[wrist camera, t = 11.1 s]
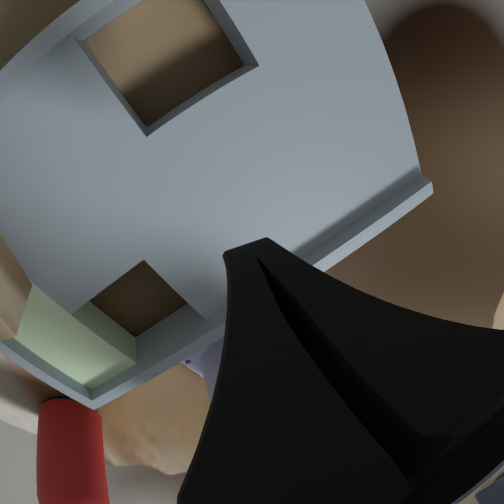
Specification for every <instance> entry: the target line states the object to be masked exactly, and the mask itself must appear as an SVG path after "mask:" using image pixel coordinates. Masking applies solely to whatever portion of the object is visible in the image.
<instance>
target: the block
mask: <svg viewBox="0 0 504 504" xmlns="http://www.w3.org/2000/svg"><path fill="white" fill-rule="evenodd" d="M31 288H32V283H31V282H30V280H29V279H28V277H27V276H26V274H25V272H24V271H23V269H22V268H21V266H20V264H19V263H18V261H17V259H16V258H15V256H14V254H13V252H12V251H11V249H10V247H9V246H8V244H7V242H6V240H5V238H4V237H3V235H2V233H1V231H0V341H3V340H6V339H9V338H12V337H15V336H16V335H17V332H18V328H19V325H20V321H21V318H22V315H23V312H24V308H25V305H26V302H27V299H28V296H29V293H30V290H31Z"/></svg>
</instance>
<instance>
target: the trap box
mask: <svg viewBox="0 0 504 504" xmlns="http://www.w3.org/2000/svg"><path fill="white" fill-rule="evenodd" d="M142 1H143V0H80V1H78V2H77V3H76V4H74V5H73V6H72V7H70V8H69V9H68V10H66V11H65V12H64V13H63V14H61V15H60V16H59V17H58V18H56V19H55V20H54V21H53V22H51V23H50V24H49V25H48V26H47V27H45V28H44V29H43V30H42V31H41V32H40V33H39V34H37V35H36V36H35V37H34V38H33V39H32V40H31V41H30V42H29V43H28V44H26V45H25V46H24V47H23V48H22V49H21V50H20V51H19V52H18V53H17V54H16V55H15V56H14V57H13V58H12V59H11V60H10V61H9V62H8V63H7V64H6V65H5V66H4V67H3V68H2V69H1V71H0V231H1V233H2V235H3V237H4V238H5V240H6V242H7V244H8V246H9V247H10V249H11V251H12V252H13V254H14V256H15V258H16V259H17V261H18V263H19V264H20V266H21V268H22V269H23V271H24V272H25V274H26V276H27V277H28V279H29V280H30V282H31V283H32V288H31V290H30V293H29V296H28V299H27V302H26V305H25V308H24V312H23V315H22V318H21V321H20V325H19V328H18V332H17V335H16V336H15V337H12V338H9V339H6V340H3V341H0V352H1V353H2V354H3V355H5V356H6V357H7V358H9V359H10V360H12V361H13V362H14V363H16V364H17V365H19V366H20V367H22V368H23V369H25V370H26V371H28V372H29V373H31V374H32V375H34V376H35V377H37V378H39V379H40V380H42V381H43V382H45V383H47V384H48V385H50V386H52V387H53V388H55V389H57V390H58V391H60V392H62V393H63V394H65V395H67V396H69V397H70V398H72V399H74V400H76V401H78V402H80V403H81V404H83V405H85V406H87V407H89V408H91V409H93V410H95V409H97V408H99V407H101V406H103V405H105V404H106V403H108V402H110V401H112V400H114V399H116V398H118V397H119V396H121V395H123V394H125V393H127V392H129V391H130V390H132V389H134V388H136V387H138V386H140V385H141V384H143V383H145V382H147V381H148V380H150V379H152V378H154V377H156V376H157V375H159V374H161V373H163V372H164V371H166V370H168V369H170V368H171V367H173V366H175V365H177V364H178V363H180V362H182V361H183V360H185V359H187V358H188V357H190V356H192V355H194V354H195V353H197V352H199V351H200V350H202V349H204V348H205V347H207V346H209V345H210V344H212V343H214V342H215V341H217V340H219V339H220V338H222V337H223V336H224V335H225V324H226V312H227V274H226V267H225V263H224V260H223V257H222V255H223V253H224V252H225V251H226V250H229V249H232V248H235V247H238V246H241V245H244V244H247V243H250V242H253V241H256V240H259V239H262V238H265V237H268V238H270V239H271V240H273V241H275V242H276V243H278V244H279V245H281V246H282V247H284V248H285V249H287V250H288V251H290V252H291V253H293V254H294V255H296V256H298V257H299V258H301V259H302V260H304V261H306V262H307V263H309V264H311V265H312V266H314V267H316V268H317V269H319V270H321V271H323V272H324V271H326V270H327V269H329V268H330V267H332V266H333V265H335V264H336V263H337V262H339V261H341V260H342V259H343V258H345V257H346V256H348V255H349V254H351V253H352V252H353V251H355V250H356V249H358V248H359V247H361V246H362V245H363V244H365V243H366V242H368V241H369V240H370V239H372V238H373V237H375V236H376V235H377V234H379V233H380V232H382V231H383V230H384V229H386V228H387V227H388V226H390V225H391V224H393V223H394V222H395V221H397V220H398V219H400V218H401V217H402V216H404V215H405V214H406V213H408V212H409V211H410V210H412V209H413V208H414V207H416V206H417V205H418V204H420V203H421V202H422V201H424V200H425V199H426V198H428V197H429V196H430V195H431V194H433V188H432V182H431V181H430V180H428V179H427V178H425V177H423V176H422V175H421V171H420V166H419V161H418V157H417V152H416V148H415V144H414V140H413V136H412V132H411V128H410V125H409V121H408V117H407V114H406V110H405V107H404V103H403V100H402V97H401V94H400V90H399V88H398V84H397V81H396V78H395V76H394V72H393V70H392V67H391V64H390V61H389V58H388V56H387V53H386V51H385V48H384V45H383V43H382V40H381V38H380V35H379V33H378V31H377V28H376V26H375V23H374V21H373V19H372V16H371V15H370V12H369V10H368V8H367V5H366V3H365V1H364V0H203V1H204V2H205V4H206V5H207V7H208V8H209V10H210V11H211V13H212V14H213V16H214V18H215V19H216V21H217V22H218V24H219V25H220V27H221V28H222V30H223V32H224V33H225V35H226V36H227V38H228V40H229V41H230V43H231V44H232V46H233V48H234V49H235V51H236V53H237V54H238V56H239V58H240V59H241V61H242V63H243V64H244V66H242V67H241V68H239V69H237V70H235V71H234V72H232V73H230V74H228V75H227V76H225V77H223V78H221V79H220V80H218V81H216V82H215V83H213V84H211V85H210V86H208V87H206V88H205V89H203V90H202V91H200V92H198V93H197V94H195V95H194V96H192V97H191V98H189V99H187V100H186V101H184V102H183V103H181V104H180V105H178V106H177V107H175V108H174V109H172V110H171V111H169V112H168V113H166V114H165V115H164V116H162V117H161V118H159V119H158V120H156V121H155V122H154V123H152V124H151V125H149V126H148V127H147V128H146V126H145V125H144V124H143V122H142V121H141V120H140V118H139V117H138V115H137V114H136V113H135V111H134V110H133V109H132V107H131V106H130V105H129V103H128V102H127V100H126V99H125V98H124V96H123V95H122V94H121V92H120V91H119V90H118V88H117V87H116V85H115V84H114V83H113V81H112V80H111V79H110V77H109V76H108V74H107V73H106V72H105V70H104V69H103V68H102V66H101V65H100V63H99V62H98V61H97V59H96V58H95V57H94V55H93V54H92V52H91V51H90V50H89V48H88V47H87V46H86V44H85V43H84V40H86V39H87V38H88V37H90V36H91V35H92V34H94V33H95V32H96V31H98V30H99V29H100V28H102V27H103V26H105V25H106V24H107V23H109V22H110V21H112V20H113V19H115V18H116V17H118V16H119V15H121V14H122V13H124V12H125V11H127V10H129V9H130V8H132V7H133V6H135V5H137V4H138V3H140V2H142ZM143 260H145V261H146V262H147V263H148V264H149V265H150V266H151V267H152V268H153V269H154V270H155V271H156V272H157V273H158V274H159V275H160V276H161V277H162V278H163V279H164V280H165V281H166V282H167V283H168V284H169V285H170V286H171V287H172V288H173V289H174V290H175V291H176V292H177V293H178V294H179V295H180V296H181V297H182V298H183V299H184V300H185V301H186V302H187V304H186V305H184V306H183V307H181V308H180V309H178V310H176V311H175V312H173V313H172V314H170V315H169V316H167V317H166V318H164V319H163V320H161V321H160V322H158V323H157V324H155V325H153V326H152V327H150V328H149V329H147V330H146V331H144V332H143V333H141V334H140V335H138V336H137V337H134V336H133V335H131V334H130V333H129V332H128V331H126V330H125V329H124V328H122V327H121V326H120V325H119V324H117V323H116V322H115V321H113V320H112V319H111V318H110V317H108V316H107V315H106V314H105V313H104V312H102V311H101V310H100V309H99V308H97V307H96V306H95V305H94V304H93V303H91V302H90V300H91V299H92V298H93V297H95V296H96V295H97V294H99V293H100V292H101V291H102V290H104V289H105V288H106V287H108V286H109V285H110V284H112V283H113V282H114V281H116V280H117V279H118V278H120V277H121V276H122V275H124V274H125V273H126V272H128V271H129V270H130V269H132V268H133V267H134V266H136V265H137V264H138V263H140V262H141V261H143Z"/></svg>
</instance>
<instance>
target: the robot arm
mask: <svg viewBox="0 0 504 504" xmlns="http://www.w3.org/2000/svg"><path fill="white" fill-rule="evenodd" d="M222 257H223V260H224V263H225V267H226V274H227V312H226V324H225V335H224V336H223V337H222V338H220V339H219V340H217V341H215V342H214V343H212V344H210V345H209V346H207V347H205V348H204V349H202V350H200V351H199V352H197V353H195V354H194V355H192V356H190V357H188V358H187V359H185V360H183V361H182V362H181V363H182V364H184V365H185V366H187V367H188V368H190V369H191V370H193V371H194V372H195V373H197V374H198V375H200V376H201V377H203V378H204V380H205V384H206V388H207V391H208V395H209V399H210V402H211V404H210V408H209V411H208V414H207V418H206V421H205V424H204V427H203V430H202V433H201V437H200V440H199V443H198V446H197V448H196V451H195V454H194V456H193V459H192V461H191V464H190V466H189V469H188V471H187V474H186V476H185V479H184V481H183V483H182V486H181V488H180V491H179V493H178V496H177V504H458V503H459V502H460V501H462V500H463V499H464V498H466V497H467V496H468V495H469V494H470V493H472V492H473V491H474V490H476V489H477V488H478V487H479V486H480V485H482V484H483V483H484V482H485V481H486V480H487V479H489V478H490V477H491V476H492V475H493V474H494V473H495V472H496V471H498V470H499V469H500V468H501V467H502V466H503V465H504V330H498V329H491V328H484V327H477V326H471V325H466V324H461V323H457V322H452V321H448V320H443V319H440V318H435V317H432V316H428V315H425V314H422V313H419V312H415V311H412V310H409V309H405V308H403V307H400V306H397V305H394V304H391V303H388V302H386V301H384V300H381V299H379V298H376V297H373V296H371V295H369V294H366V293H364V292H362V291H360V290H357V289H355V288H353V287H351V286H349V285H347V284H345V283H343V282H341V281H339V280H337V279H335V278H333V277H332V276H330V275H328V274H326V273H324V272H323V271H321V270H319V269H317V268H316V267H314V266H312V265H311V264H309V263H307V262H306V261H304V260H302V259H301V258H299V257H298V256H296V255H294V254H293V253H291V252H290V251H288V250H287V249H285V248H284V247H282V246H281V245H279V244H278V243H276V242H275V241H273V240H271V239H270V238H268V237H265V238H262V239H259V240H256V241H253V242H250V243H247V244H244V245H241V246H238V247H235V248H232V249H229V250H226V251H225V252H224V253H223V255H222ZM475 498H476V499H477V501H476V502H475V503H474V504H504V468H503V469H501V470H500V471H499V472H497V473H496V474H495V475H494V476H493V477H491V478H490V479H489V480H488V481H487V482H486V483H485V484H484V485H483V486H482V487H481V489H480V490H479V491H478V492H477V493H476V494H475Z"/></svg>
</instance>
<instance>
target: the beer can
mask: <svg viewBox="0 0 504 504" xmlns="http://www.w3.org/2000/svg"><path fill="white" fill-rule="evenodd" d="M37 497H38V501H39V504H110V502H109V495H108V488H107V479H106V470H105V460H104V449H103V435H102V419H101V416H100V415H99V414H98V412H97V411H96V410H93V409H91V408H89V407H87V406H85V405H83V404H81V403H80V402H78V401H76V400H74V399H68V398H54V399H51V400H47V401H46V402H44V403H43V404H42V405H41V406H40V410H39V418H38V433H37Z"/></svg>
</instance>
